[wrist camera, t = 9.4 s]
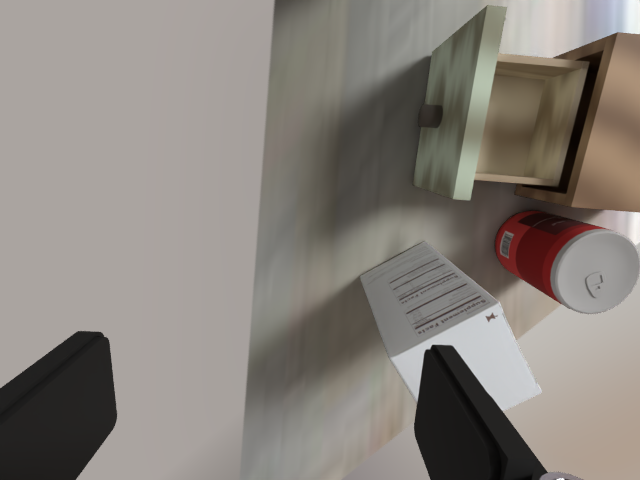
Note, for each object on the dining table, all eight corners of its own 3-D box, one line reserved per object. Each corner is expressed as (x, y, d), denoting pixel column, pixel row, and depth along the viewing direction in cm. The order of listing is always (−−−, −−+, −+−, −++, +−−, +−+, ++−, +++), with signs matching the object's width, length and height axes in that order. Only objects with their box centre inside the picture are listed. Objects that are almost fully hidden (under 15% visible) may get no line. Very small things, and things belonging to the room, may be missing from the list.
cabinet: (544, 61, 36) (617, 32, 27) (654, 71, 36) (762, 46, 27) (514, 194, 39) (571, 206, 31) (615, 202, 40) (699, 216, 31)
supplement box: (357, 275, 42) (384, 355, 25) (425, 238, 40) (499, 297, 24) (393, 335, 44) (439, 446, 27) (458, 302, 43) (547, 395, 26)
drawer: (416, 50, 35) (464, 2, 24) (546, 62, 35) (653, 21, 24) (398, 183, 38) (433, 197, 27) (516, 193, 39) (598, 210, 28)
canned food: (511, 284, 42) (578, 330, 31) (480, 234, 40) (539, 264, 30) (568, 249, 41) (656, 284, 30) (537, 196, 39) (620, 212, 29)
